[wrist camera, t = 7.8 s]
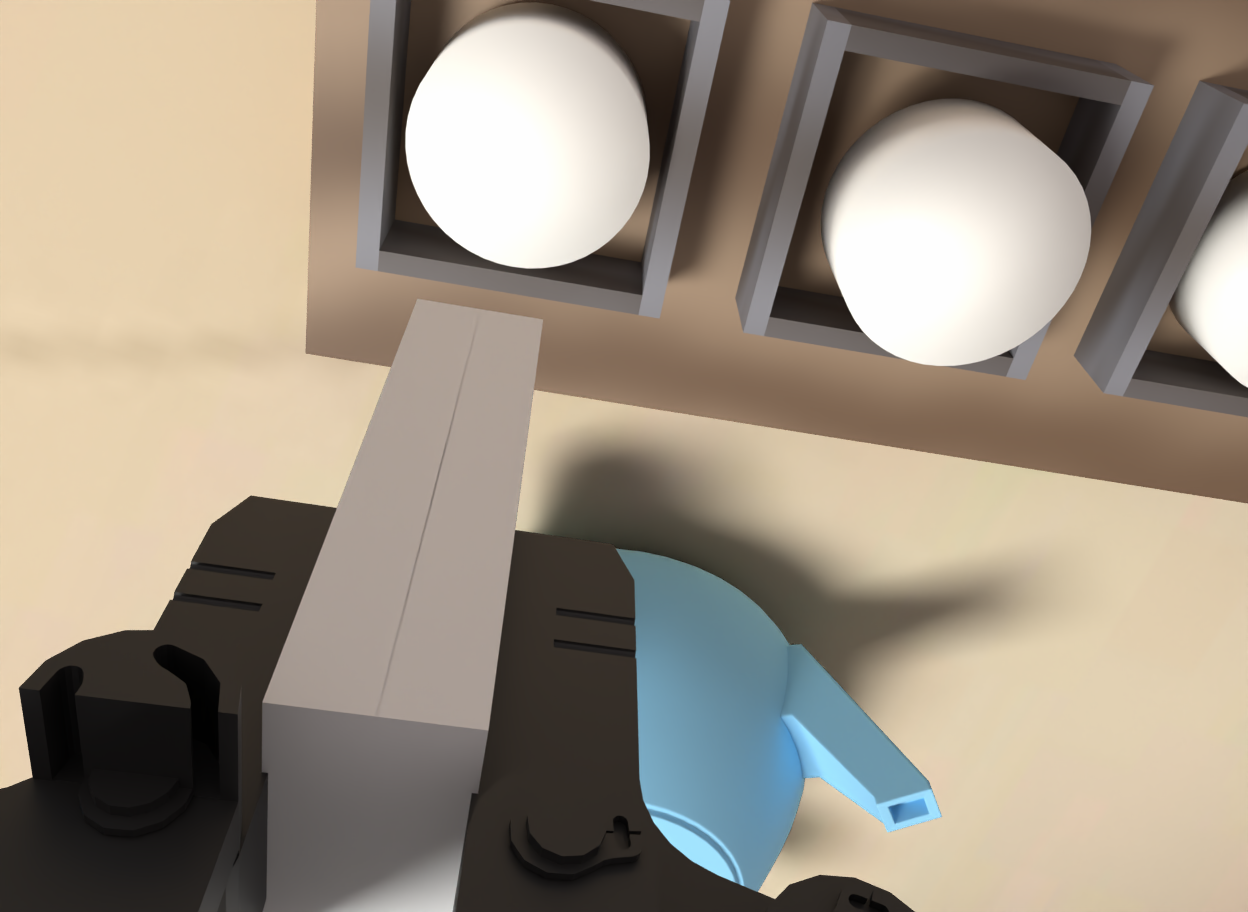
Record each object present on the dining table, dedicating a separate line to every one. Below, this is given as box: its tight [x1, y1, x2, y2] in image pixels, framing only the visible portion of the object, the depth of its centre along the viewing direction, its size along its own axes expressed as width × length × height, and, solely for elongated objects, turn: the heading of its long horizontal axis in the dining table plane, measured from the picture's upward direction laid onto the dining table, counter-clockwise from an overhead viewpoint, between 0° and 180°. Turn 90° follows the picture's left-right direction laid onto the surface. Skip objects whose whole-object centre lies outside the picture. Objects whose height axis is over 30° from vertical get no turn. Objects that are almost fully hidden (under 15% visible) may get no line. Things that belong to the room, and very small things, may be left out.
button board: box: [306, 0, 1248, 503], centre depth 26 cm, size 14×28×5 cm, turn 80°
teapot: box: [616, 549, 942, 892], centre depth 33 cm, size 15×15×11 cm
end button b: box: [406, 2, 650, 268], centre depth 23 cm, size 5×5×2 cm
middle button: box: [821, 99, 1091, 366], centre depth 23 cm, size 5×5×2 cm
